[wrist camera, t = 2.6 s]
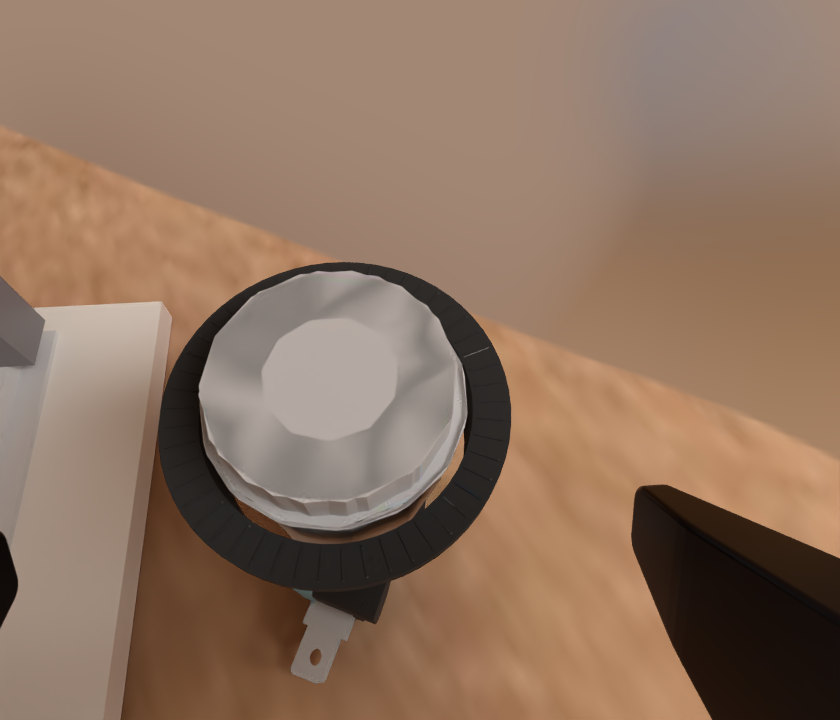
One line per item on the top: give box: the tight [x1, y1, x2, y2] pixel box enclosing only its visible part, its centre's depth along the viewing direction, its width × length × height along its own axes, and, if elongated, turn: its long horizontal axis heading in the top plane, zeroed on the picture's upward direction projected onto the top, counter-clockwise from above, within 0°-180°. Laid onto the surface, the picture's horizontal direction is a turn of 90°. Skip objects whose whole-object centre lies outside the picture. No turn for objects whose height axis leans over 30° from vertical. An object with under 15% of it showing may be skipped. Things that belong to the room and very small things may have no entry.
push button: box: [158, 262, 511, 684], centre depth 13 cm, size 7×5×10 cm
